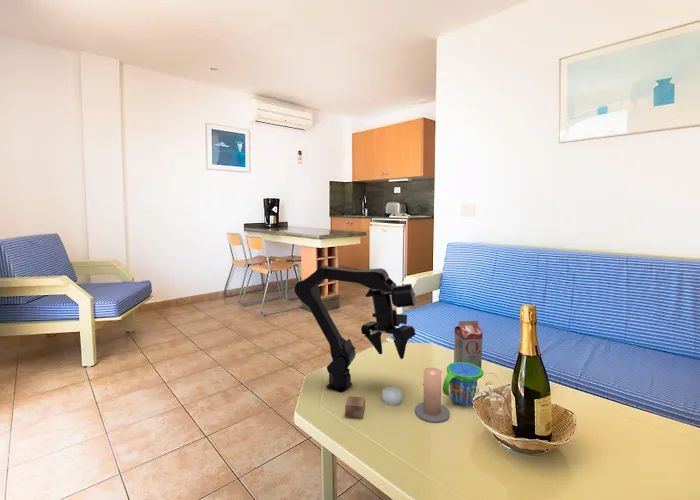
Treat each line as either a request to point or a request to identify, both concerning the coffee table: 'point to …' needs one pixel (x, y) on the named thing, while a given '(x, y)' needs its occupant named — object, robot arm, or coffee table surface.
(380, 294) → the robot arm
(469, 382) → the snack cup
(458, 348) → the juice carton
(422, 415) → the coaster
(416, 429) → the coffee table surface
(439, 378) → the pink rounded cylinder
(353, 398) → the walnut block
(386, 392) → the white dome
